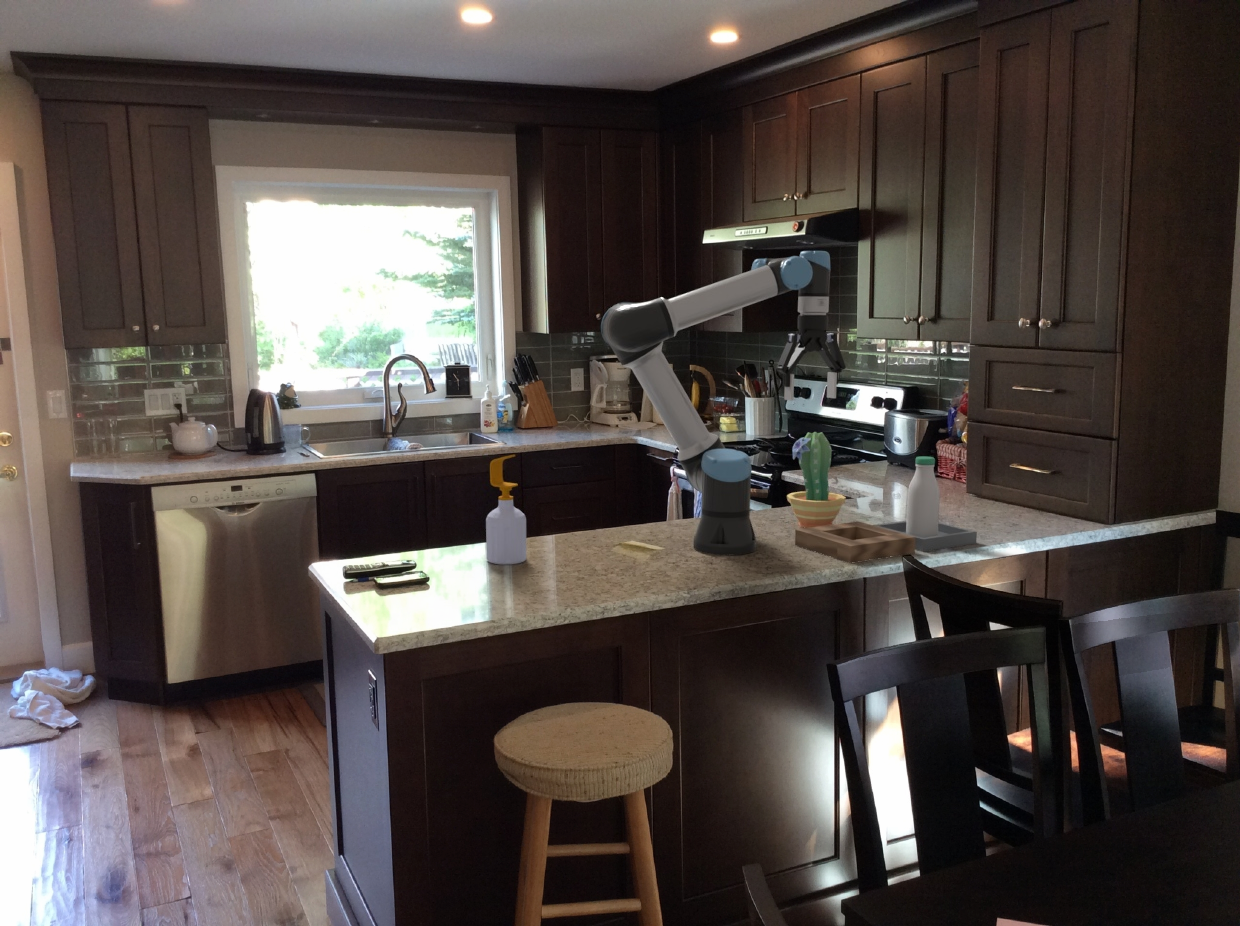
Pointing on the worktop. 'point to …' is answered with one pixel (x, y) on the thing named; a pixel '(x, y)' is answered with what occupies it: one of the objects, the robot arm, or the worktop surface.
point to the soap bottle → (505, 523)
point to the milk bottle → (923, 500)
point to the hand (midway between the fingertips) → (810, 399)
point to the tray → (945, 538)
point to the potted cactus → (814, 483)
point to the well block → (855, 541)
